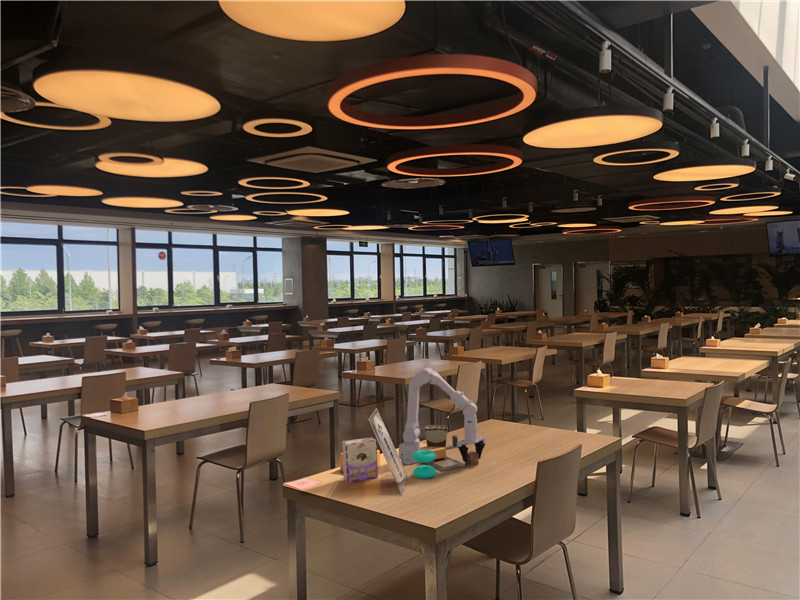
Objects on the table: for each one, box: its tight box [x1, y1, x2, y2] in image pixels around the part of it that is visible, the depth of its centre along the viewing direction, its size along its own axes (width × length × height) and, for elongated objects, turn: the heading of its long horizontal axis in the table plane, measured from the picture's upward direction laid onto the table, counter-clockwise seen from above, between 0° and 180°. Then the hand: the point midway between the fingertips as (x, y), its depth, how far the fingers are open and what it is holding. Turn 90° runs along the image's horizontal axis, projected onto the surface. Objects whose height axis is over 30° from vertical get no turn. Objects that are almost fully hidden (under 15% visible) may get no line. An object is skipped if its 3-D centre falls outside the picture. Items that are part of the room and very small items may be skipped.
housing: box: [464, 451, 480, 467], centre depth 266 cm, size 4×4×5 cm
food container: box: [423, 424, 449, 448], centre depth 298 cm, size 12×6×10 cm, turn 84°
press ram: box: [429, 435, 459, 460], centre depth 274 cm, size 18×2×8 cm, turn 121°
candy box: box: [341, 436, 379, 483], centre depth 250 cm, size 14×6×16 cm, turn 111°
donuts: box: [412, 449, 437, 480], centre depth 251 cm, size 10×10×10 cm
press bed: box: [423, 455, 469, 472], centre depth 267 cm, size 14×18×3 cm
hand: (471, 459), depth 266 cm, fingers open, 7 cm apart
